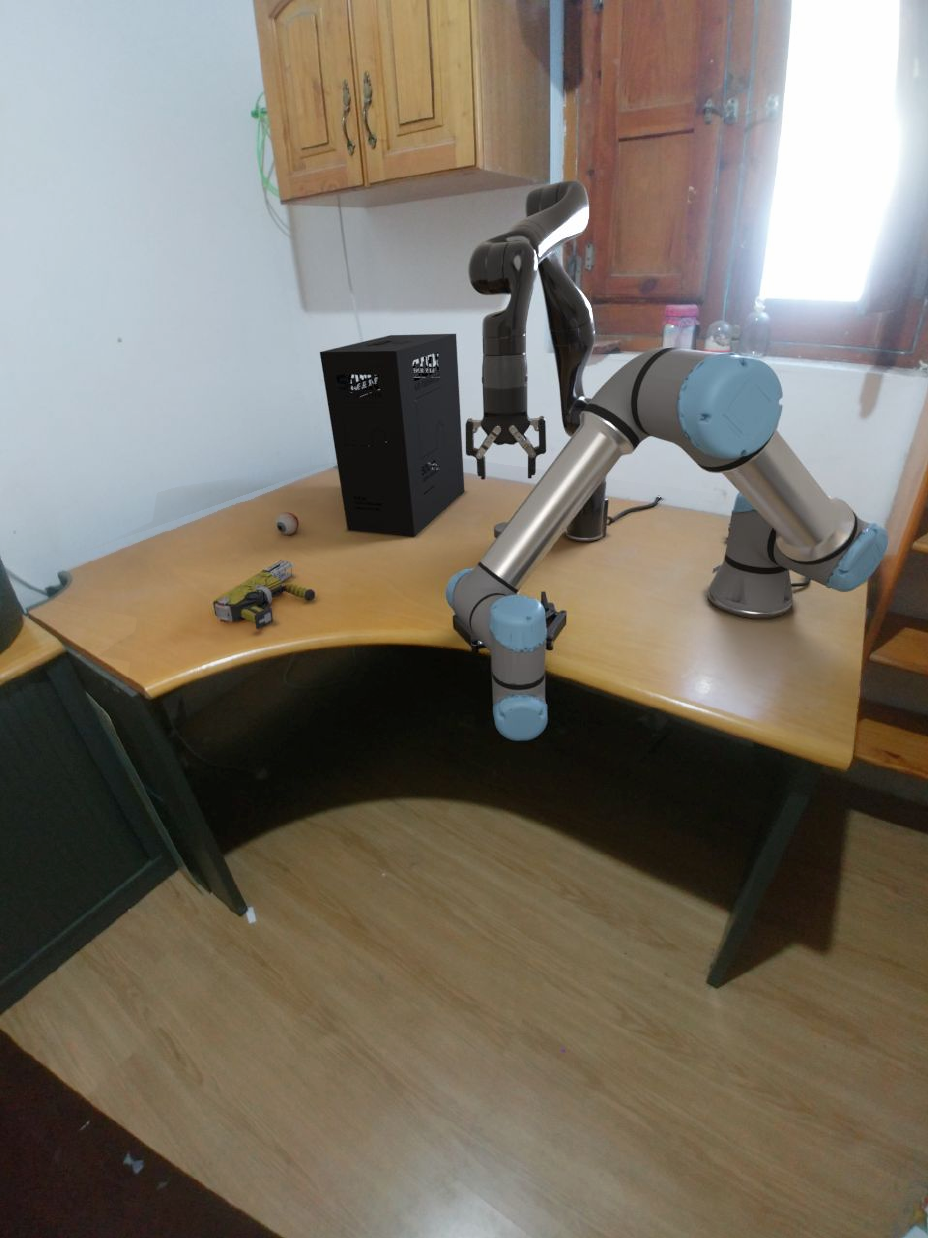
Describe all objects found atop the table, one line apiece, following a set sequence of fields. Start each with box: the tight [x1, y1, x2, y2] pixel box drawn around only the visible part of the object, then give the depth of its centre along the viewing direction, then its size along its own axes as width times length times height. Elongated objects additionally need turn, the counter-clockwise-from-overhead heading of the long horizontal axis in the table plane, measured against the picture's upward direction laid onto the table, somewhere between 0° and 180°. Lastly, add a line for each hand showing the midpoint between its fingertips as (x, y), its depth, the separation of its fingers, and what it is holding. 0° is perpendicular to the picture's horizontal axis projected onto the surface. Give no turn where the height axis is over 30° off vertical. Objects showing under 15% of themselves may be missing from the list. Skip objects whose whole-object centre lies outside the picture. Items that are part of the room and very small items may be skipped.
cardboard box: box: [319, 333, 465, 537], centre depth 166 cm, size 38×20×45 cm, turn 159°
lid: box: [493, 521, 509, 539], centre depth 114 cm, size 5×5×2 cm
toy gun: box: [212, 559, 316, 630], centre depth 129 cm, size 5×24×15 cm
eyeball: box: [275, 511, 300, 536], centre depth 163 cm, size 6×6×6 cm
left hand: (506, 477), depth 109 cm, fingers open, 8 cm apart
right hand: (507, 599), depth 114 cm, fingers open, 13 cm apart
